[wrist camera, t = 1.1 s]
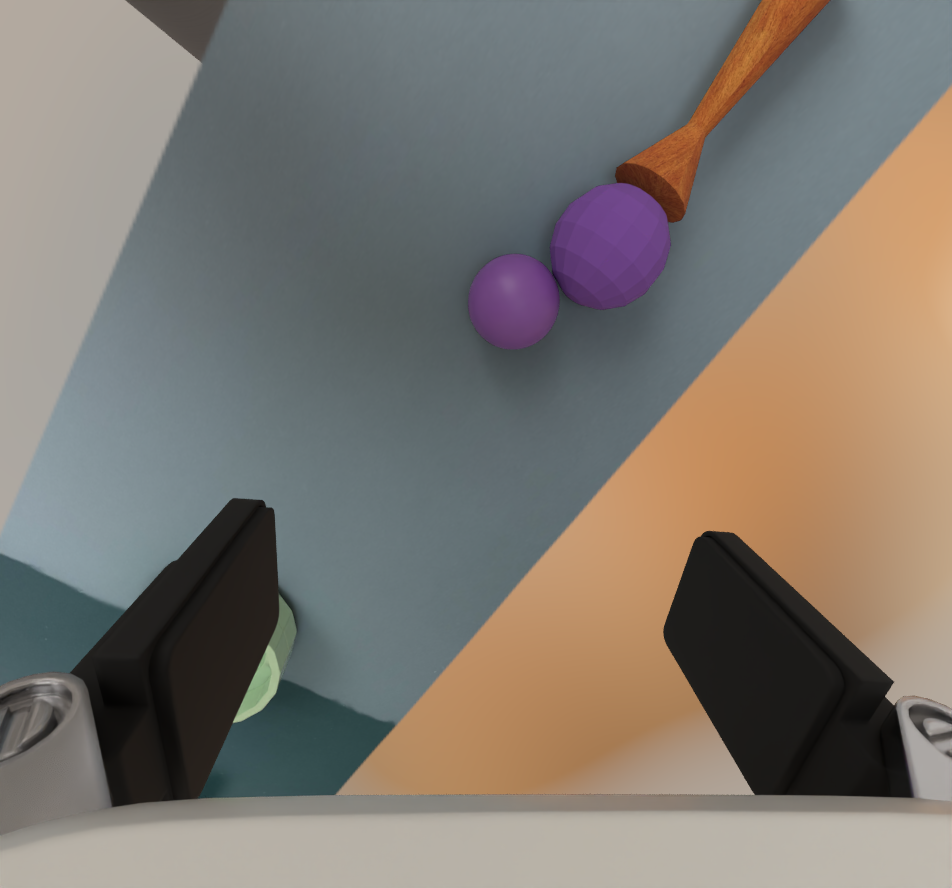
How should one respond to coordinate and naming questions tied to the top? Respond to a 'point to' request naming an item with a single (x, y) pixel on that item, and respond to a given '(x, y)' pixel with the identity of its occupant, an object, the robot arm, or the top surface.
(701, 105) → the purple maraca
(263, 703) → the bowl
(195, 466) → the top surface
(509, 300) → the ball
